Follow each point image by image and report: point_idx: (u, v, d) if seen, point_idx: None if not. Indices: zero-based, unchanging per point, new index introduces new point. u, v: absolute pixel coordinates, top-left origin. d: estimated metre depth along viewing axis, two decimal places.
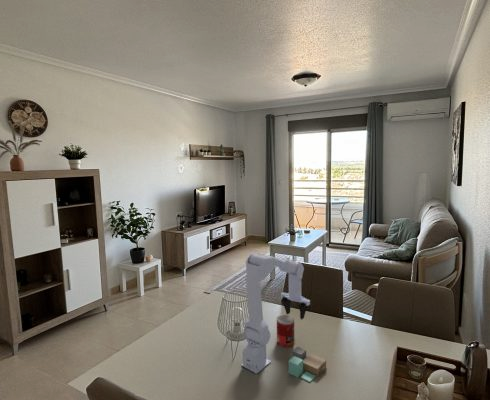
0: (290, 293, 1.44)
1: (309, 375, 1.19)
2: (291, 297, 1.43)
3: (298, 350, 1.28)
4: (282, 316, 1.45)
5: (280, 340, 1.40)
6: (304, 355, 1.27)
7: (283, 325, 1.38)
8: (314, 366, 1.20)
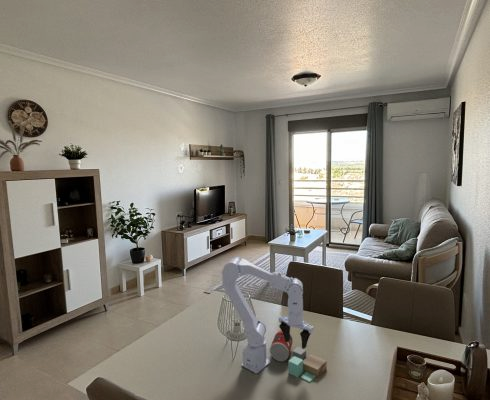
0: (290, 318, 1.21)
1: (309, 375, 1.19)
2: (291, 323, 1.21)
3: (298, 350, 1.28)
4: (274, 345, 1.29)
5: None
6: (304, 355, 1.27)
7: None
8: (314, 367, 1.20)
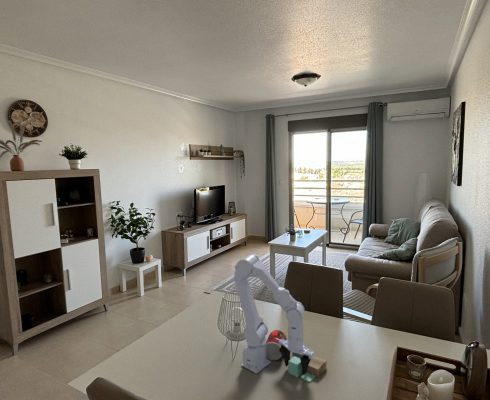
0: (290, 343, 1.19)
1: (309, 375, 1.19)
2: (291, 348, 1.19)
3: None
4: None
5: None
6: None
7: None
8: (314, 366, 1.20)
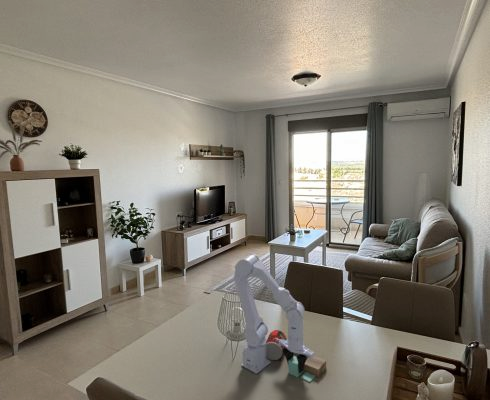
0: (290, 343, 1.19)
1: (309, 375, 1.19)
2: (291, 348, 1.19)
3: None
4: None
5: None
6: None
7: None
8: (315, 367, 1.20)
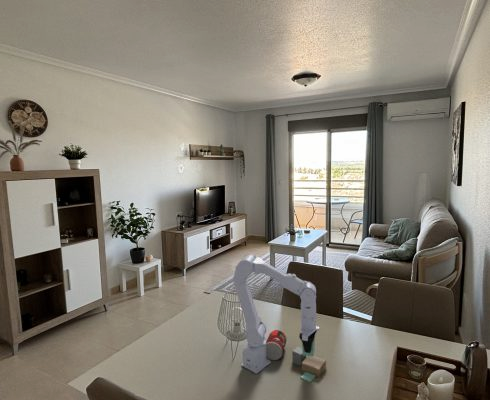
0: None
1: (309, 375, 1.19)
2: None
3: (298, 350, 1.28)
4: None
5: None
6: (304, 355, 1.27)
7: None
8: (315, 367, 1.20)
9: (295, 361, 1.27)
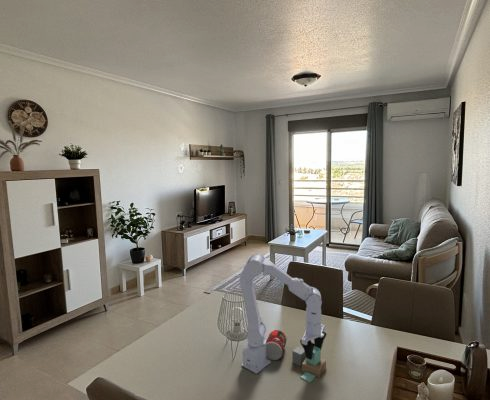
0: None
1: (309, 375, 1.19)
2: None
3: (298, 350, 1.28)
4: None
5: None
6: (304, 355, 1.27)
7: None
8: (315, 367, 1.20)
9: (295, 361, 1.27)
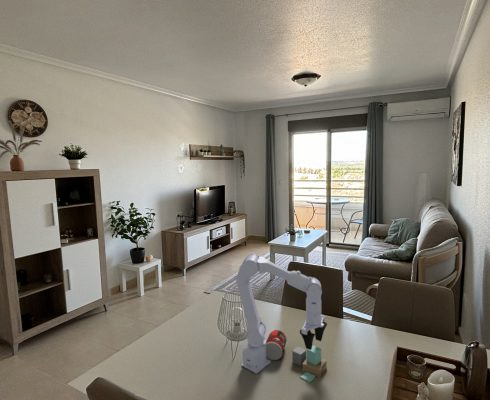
0: None
1: (309, 375, 1.19)
2: None
3: (298, 350, 1.28)
4: None
5: None
6: (304, 355, 1.27)
7: None
8: (316, 367, 1.20)
9: (295, 361, 1.27)
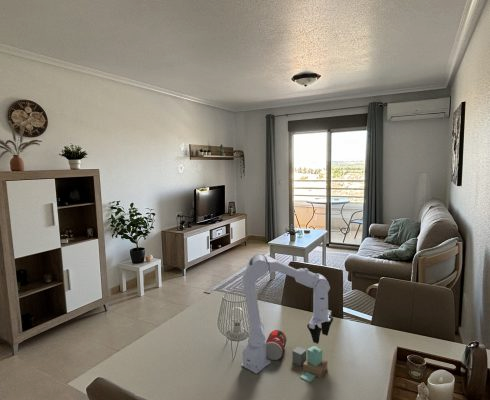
0: None
1: (309, 375, 1.19)
2: None
3: (298, 350, 1.28)
4: None
5: None
6: (304, 355, 1.27)
7: None
8: (317, 367, 1.19)
9: (295, 361, 1.27)
